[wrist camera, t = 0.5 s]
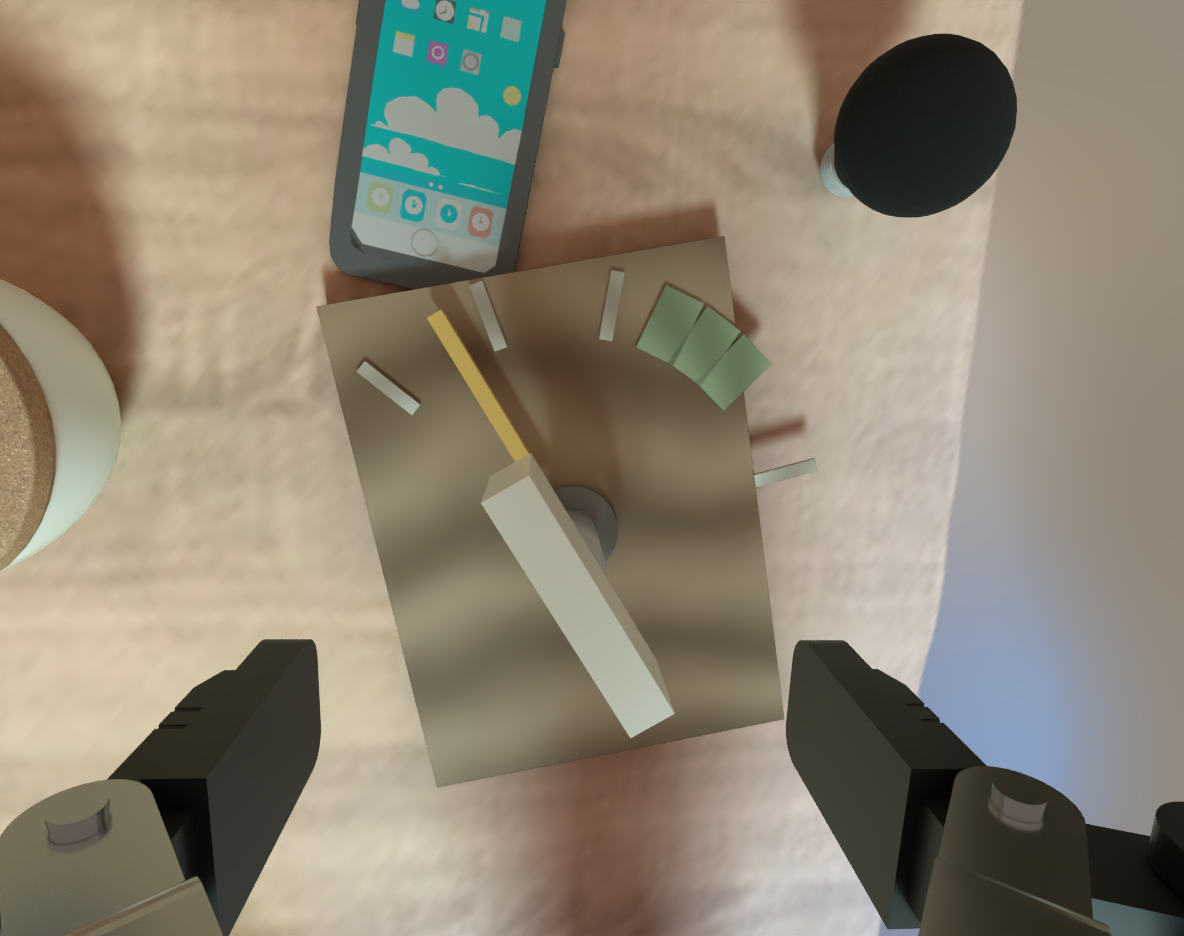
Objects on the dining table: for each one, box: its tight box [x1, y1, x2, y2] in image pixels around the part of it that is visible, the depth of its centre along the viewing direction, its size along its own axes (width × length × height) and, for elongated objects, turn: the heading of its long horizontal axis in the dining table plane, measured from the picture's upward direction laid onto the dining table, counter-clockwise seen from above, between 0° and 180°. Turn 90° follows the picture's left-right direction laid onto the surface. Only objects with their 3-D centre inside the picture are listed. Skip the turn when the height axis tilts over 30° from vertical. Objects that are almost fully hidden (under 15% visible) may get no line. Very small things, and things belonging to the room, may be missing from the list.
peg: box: [427, 310, 675, 738], centre depth 27 cm, size 16×2×9 cm, turn 30°
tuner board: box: [317, 236, 817, 788], centre depth 33 cm, size 24×21×2 cm
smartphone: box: [329, 0, 566, 289], centre depth 30 cm, size 9×1×15 cm
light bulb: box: [820, 34, 1017, 217], centre depth 27 cm, size 6×6×10 cm
